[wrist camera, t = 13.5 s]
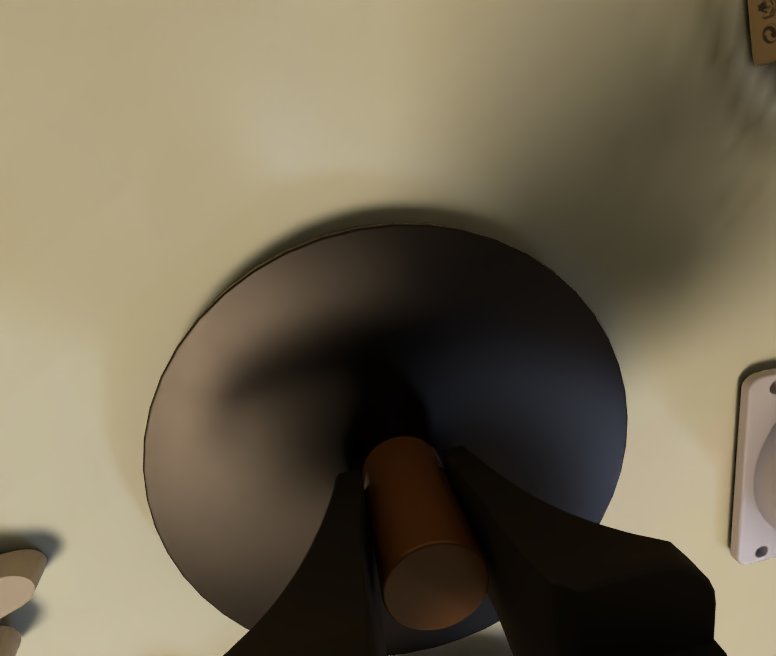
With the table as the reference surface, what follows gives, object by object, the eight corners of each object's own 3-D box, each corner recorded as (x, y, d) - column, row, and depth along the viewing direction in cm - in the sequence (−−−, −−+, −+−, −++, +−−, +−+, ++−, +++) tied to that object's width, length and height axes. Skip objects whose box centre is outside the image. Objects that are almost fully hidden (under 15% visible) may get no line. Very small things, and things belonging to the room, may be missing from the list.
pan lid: (331, 106, 13) (346, 61, 8) (692, 384, 17) (863, 480, 12) (63, 526, 15) (-68, 716, 10) (437, 680, 19) (485, 870, 14)
